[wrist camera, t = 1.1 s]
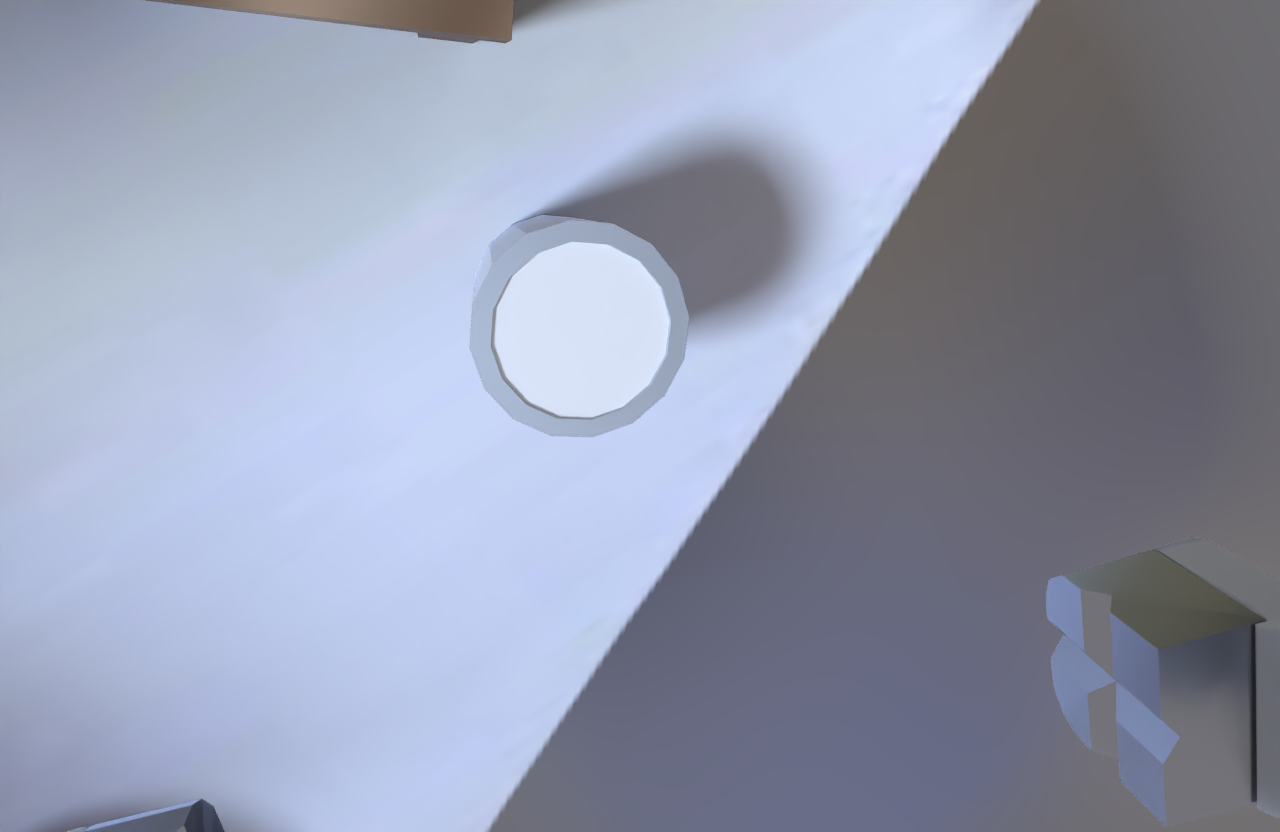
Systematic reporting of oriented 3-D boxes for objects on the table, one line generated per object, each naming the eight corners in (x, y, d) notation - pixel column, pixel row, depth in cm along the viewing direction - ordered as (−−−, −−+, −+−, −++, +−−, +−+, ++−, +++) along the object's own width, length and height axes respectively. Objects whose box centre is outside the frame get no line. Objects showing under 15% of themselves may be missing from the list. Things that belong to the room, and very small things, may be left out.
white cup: (483, 173, 36) (502, 191, 30) (663, 226, 38) (719, 254, 32) (435, 356, 38) (443, 413, 31) (611, 399, 40) (653, 459, 33)
